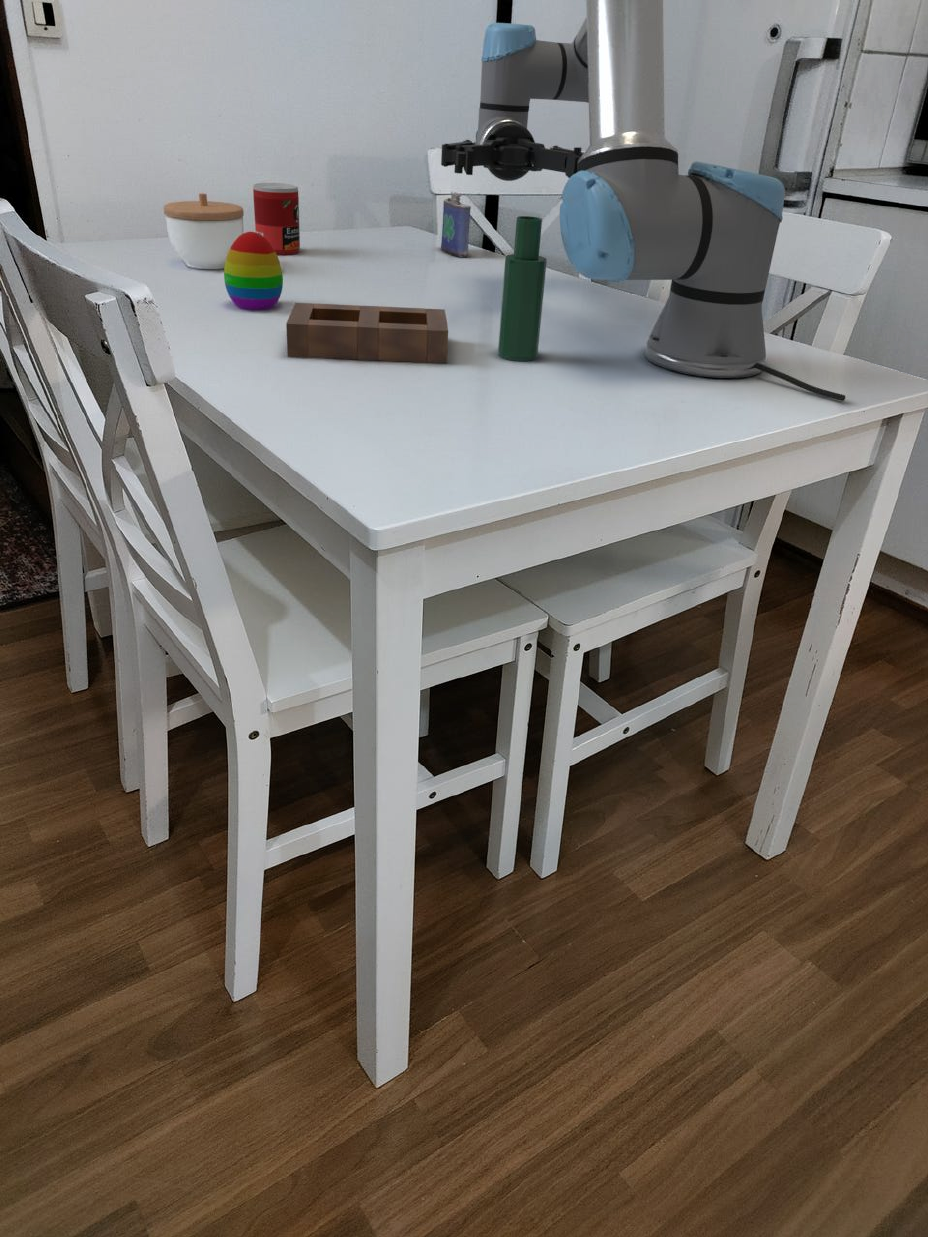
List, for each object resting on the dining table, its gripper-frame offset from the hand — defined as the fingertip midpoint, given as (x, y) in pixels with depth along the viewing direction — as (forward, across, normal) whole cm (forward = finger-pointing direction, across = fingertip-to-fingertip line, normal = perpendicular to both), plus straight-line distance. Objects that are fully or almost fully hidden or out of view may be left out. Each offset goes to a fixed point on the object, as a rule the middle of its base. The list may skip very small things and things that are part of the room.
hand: (523, 166), depth 117 cm
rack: (+9, +19, -21) cm, 30 cm away
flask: (-60, +5, -22) cm, 64 cm away
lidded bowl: (-38, +47, -22) cm, 64 cm away
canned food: (-53, +37, -22) cm, 69 cm away
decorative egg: (-11, +36, -22) cm, 43 cm away
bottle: (+10, 0, -21) cm, 23 cm away
